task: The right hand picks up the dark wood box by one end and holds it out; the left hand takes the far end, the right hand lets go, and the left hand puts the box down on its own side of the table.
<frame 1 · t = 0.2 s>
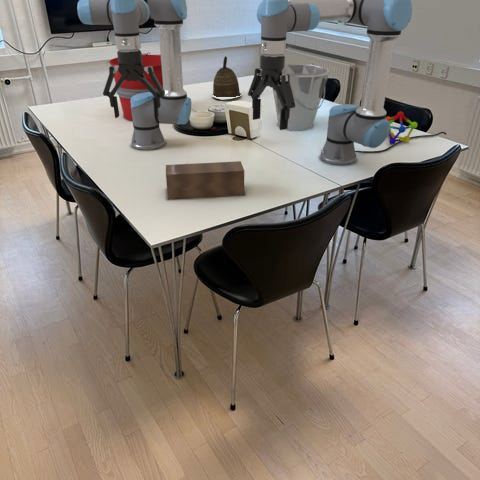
left hand: (137, 117, 151), 28 cm above the table, tool pointing down, fingers open, 13 cm apart
right hand: (269, 123, 145), 27 cm above the table, tool pointing down, fingers open, 13 cm apart
bell: (226, 97, 281), on the table
educational toy: (395, 143, 211), on the table
box: (205, 192, 164), on the table
bucket 2: (146, 115, 247), on the table
bucket: (295, 125, 233), on the table
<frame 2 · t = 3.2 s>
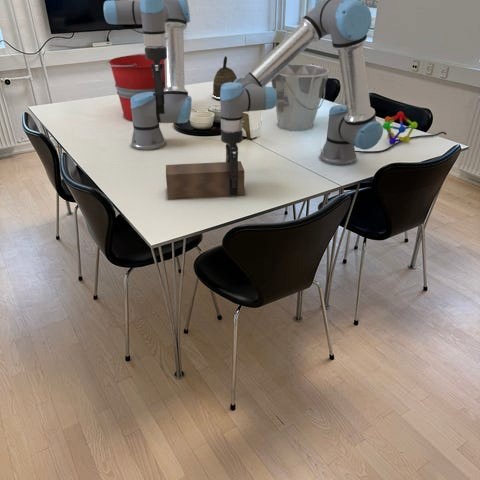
left hand: (160, 108, 164), 26 cm above the table, tool pointing down, fingers open, 13 cm apart
right hand: (232, 188, 165), 1 cm above the table, tool pointing down, fingers closed on box, 9 cm apart
box: (205, 192, 164), on the table, touching right hand
everything else where it was.
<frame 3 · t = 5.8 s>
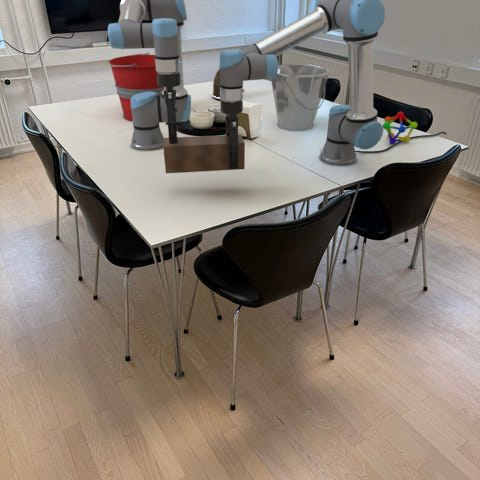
left hand: (173, 137, 153), 21 cm above the table, tool pointing down, fingers open, 13 cm apart
right hand: (232, 163, 160), 11 cm above the table, tool pointing down, fingers closed on box, 9 cm apart
box: (204, 166, 159), point 10 cm above the table, touching right hand
everything else where it was.
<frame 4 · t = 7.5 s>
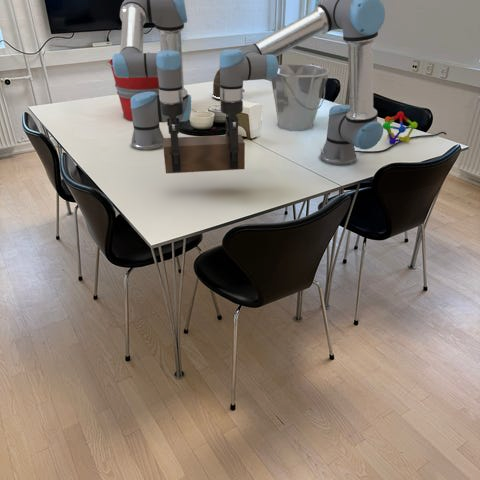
left hand: (176, 165, 157), 11 cm above the table, tool pointing down, fingers closed on box, 9 cm apart
right hand: (232, 163, 160), 11 cm above the table, tool pointing down, fingers closed on box, 9 cm apart
box: (204, 166, 159), point 10 cm above the table, touching left hand, right hand
everything else where it was.
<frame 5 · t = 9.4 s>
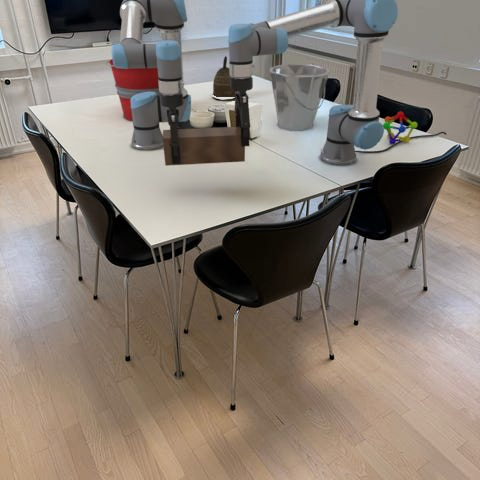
left hand: (176, 158, 156), 14 cm above the table, tool pointing down, fingers closed on box, 9 cm apart
right hand: (242, 139, 156), 20 cm above the table, tool pointing down, fingers open, 13 cm apart
box: (204, 158, 158), point 13 cm above the table, touching left hand
everything else where it was.
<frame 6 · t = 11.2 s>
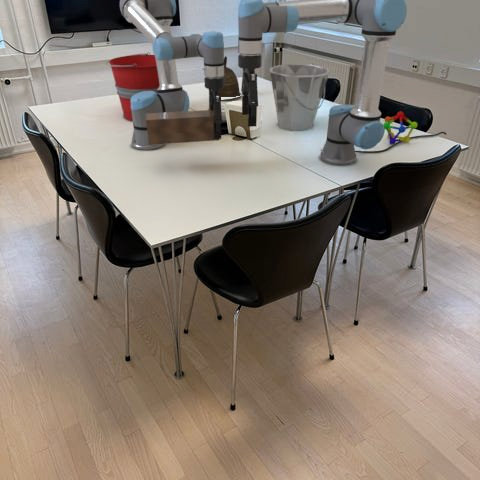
left hand: (215, 134, 179), 13 cm above the table, tool pointing down, fingers closed on box, 9 cm apart
right hand: (248, 120, 152), 26 cm above the table, tool pointing down, fingers open, 13 cm apart
box: (183, 138, 177), point 12 cm above the table, touching left hand
everything else where it was.
when the left hand's fingers open (2 cm above the table, at t = 12.7 s): box drops 1 cm, on the table.
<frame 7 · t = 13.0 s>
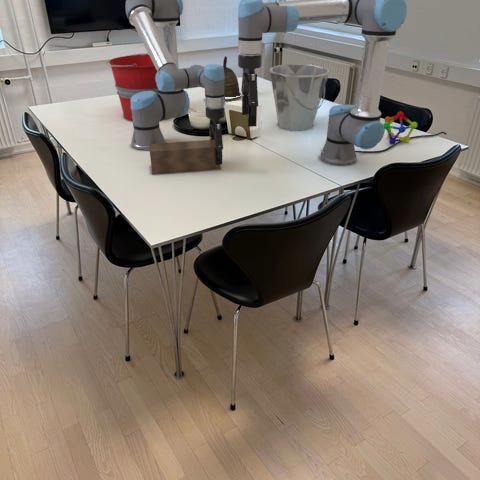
left hand: (216, 158, 185), 3 cm above the table, tool pointing down, fingers open, 12 cm apart
right hand: (248, 120, 152), 26 cm above the table, tool pointing down, fingers open, 13 cm apart
box: (185, 167, 184), on the table
everything else where it was.
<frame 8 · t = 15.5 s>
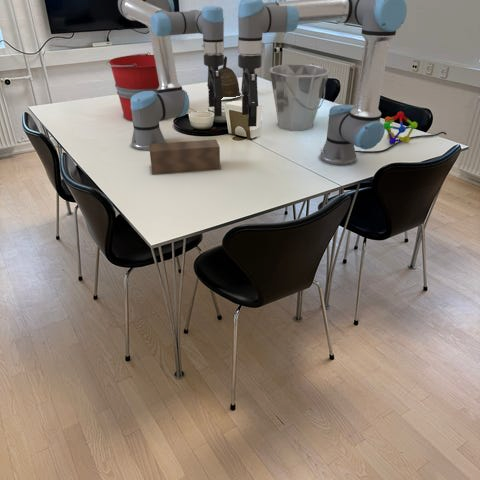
left hand: (215, 111, 174), 23 cm above the table, tool pointing down, fingers open, 13 cm apart
right hand: (248, 120, 152), 26 cm above the table, tool pointing down, fingers open, 13 cm apart
nothing on the table moved.
at the end: box inside the target area (13.0 cm from its centre), on the table; the left hand is holding nothing; the right hand is holding nothing; box at rest at the end (0.0 cm/s) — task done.
